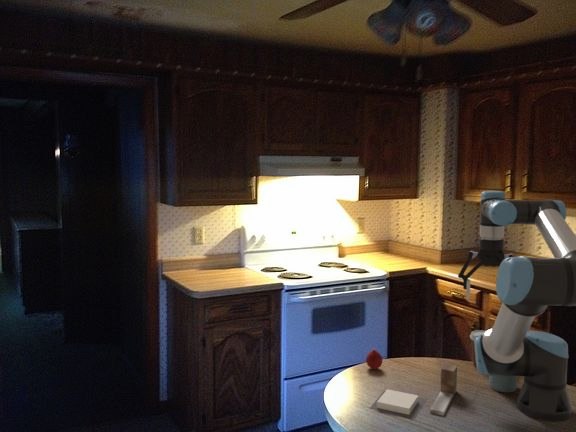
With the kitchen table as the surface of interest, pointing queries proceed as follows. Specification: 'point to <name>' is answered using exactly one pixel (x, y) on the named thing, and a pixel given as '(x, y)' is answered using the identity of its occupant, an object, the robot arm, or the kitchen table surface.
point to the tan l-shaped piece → (445, 389)
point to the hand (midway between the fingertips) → (489, 301)
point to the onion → (374, 359)
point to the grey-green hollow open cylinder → (503, 383)
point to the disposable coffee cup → (472, 337)
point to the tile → (397, 402)
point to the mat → (412, 414)
